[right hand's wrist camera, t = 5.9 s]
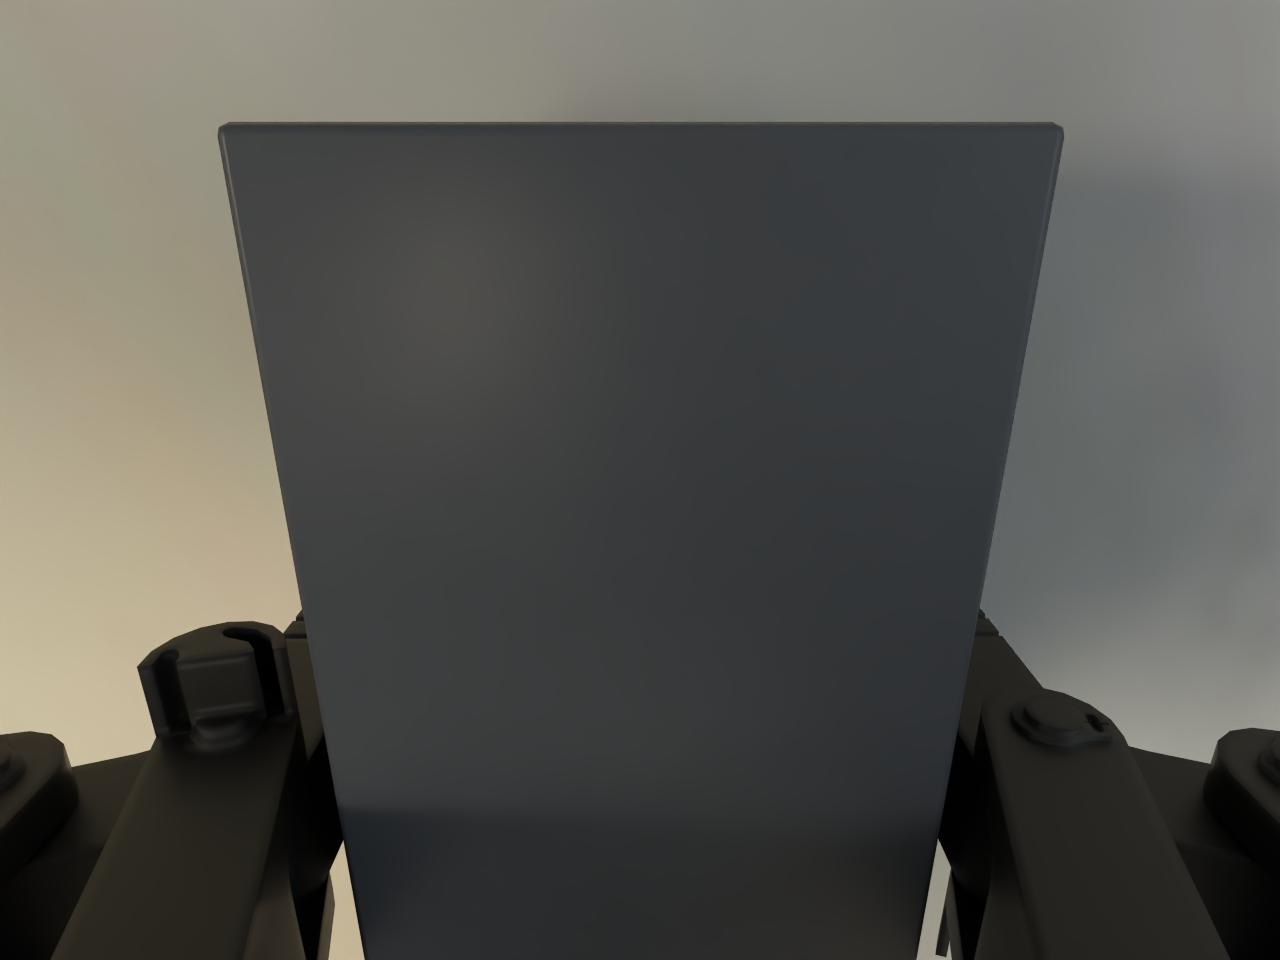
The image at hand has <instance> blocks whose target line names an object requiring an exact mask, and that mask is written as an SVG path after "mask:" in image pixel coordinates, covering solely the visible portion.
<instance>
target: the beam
mask: <svg viewBox="0 0 1280 960" xmlns="http://www.w3.org/2000/svg"><path fill="white" fill-rule="evenodd" d="M1063 140H1064V131H1063V127H1061V126H1059V125H1057V124H1055V123H1053V122H228V123H226V124H224V125H222V126H220V127H219V130H218V141H219V146H220V152H221V157H222V163H223V169H224V174H225V180H226V185H227V191H228V197H229V202H230V208H231V213H232V219H233V224H234V230H235V236H236V241H237V247H238V252H239V258H240V264H241V269H242V275H243V280H244V286H245V292H246V297H247V303H248V308H249V314H250V320H251V325H252V331H253V336H254V342H255V348H256V353H257V359H258V364H259V370H260V376H261V381H262V387H263V392H264V398H265V404H266V409H267V415H268V420H269V426H270V432H271V437H272V443H273V448H274V454H275V460H276V465H277V471H278V476H279V482H280V488H281V493H282V499H283V504H284V510H285V516H286V521H287V527H288V532H289V538H290V544H291V549H292V555H293V560H294V566H295V572H296V577H297V583H298V588H299V594H300V600H301V605H302V611H303V616H304V622H305V628H306V633H307V639H308V644H309V650H310V656H311V661H312V667H313V672H314V678H315V683H316V689H317V695H318V700H319V706H320V711H321V717H322V723H323V728H324V734H325V739H326V745H327V751H328V756H329V762H330V767H331V773H332V779H333V784H334V790H335V795H336V801H337V807H338V812H339V818H340V823H341V829H342V835H343V840H344V846H345V851H346V857H347V863H348V868H349V874H350V879H351V885H352V891H353V896H354V902H355V907H356V913H357V919H358V924H359V930H360V935H361V941H362V947H363V952H364V958H365V960H916V958H917V952H918V947H919V941H920V936H921V930H922V924H923V919H924V913H925V908H926V902H927V897H928V891H929V886H930V880H931V874H932V869H933V863H934V858H935V852H936V847H937V841H938V835H939V830H940V824H941V819H942V813H943V808H944V802H945V797H946V791H947V785H948V780H949V774H950V769H951V763H952V758H953V752H954V746H955V741H956V735H957V730H958V724H959V719H960V713H961V707H962V702H963V696H964V691H965V685H966V680H967V674H968V669H969V663H970V657H971V652H972V646H973V641H974V635H975V630H976V624H977V618H978V613H979V607H980V602H981V596H982V591H983V585H984V579H985V574H986V568H987V563H988V557H989V552H990V546H991V541H992V535H993V529H994V524H995V518H996V513H997V507H998V502H999V496H1000V490H1001V485H1002V479H1003V474H1004V468H1005V463H1006V457H1007V452H1008V446H1009V440H1010V435H1011V429H1012V424H1013V418H1014V413H1015V407H1016V401H1017V396H1018V390H1019V385H1020V379H1021V374H1022V368H1023V362H1024V357H1025V351H1026V346H1027V340H1028V335H1029V329H1030V324H1031V318H1032V312H1033V307H1034V301H1035V296H1036V290H1037V285H1038V279H1039V273H1040V268H1041V262H1042V257H1043V251H1044V246H1045V240H1046V234H1047V229H1048V223H1049V218H1050V212H1051V207H1052V201H1053V196H1054V190H1055V184H1056V179H1057V173H1058V168H1059V162H1060V157H1061V151H1062V145H1063Z"/></svg>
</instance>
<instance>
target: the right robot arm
mask: <svg viewBox="0 0 1280 960" xmlns="http://www.w3.org/2000/svg"><path fill="white" fill-rule="evenodd" d="M998 633H999V632H998V630H997V629H996V628H995V627H994V625H993V624H992V623H991V621H990V620H989V619H988V618H985V614H984V613H983V611H982V610H981V609H980V607H979V613H978V618H977V624H976V630H975V635H974V641H973V646H972V652H971V657H970V663H969V669H968V674H967V680H966V685H965V691H964V696H963V702H962V707H961V713H960V719H959V724H958V730H957V735H956V741H955V746H954V752H953V758H952V763H951V769H950V774H949V780H948V785H947V791H946V797H945V802H944V808H943V813H942V819H941V824H940V830H939V835H938V839H939V841H940V843H941V846H942V848H943V850H944V852H945V854H946V857H947V859H948V861H949V863H950V866H951V871H950V876H949V882H948V887H947V892H946V897H945V903H944V908H943V913H942V918H941V924H940V929H939V934H938V940H937V947H936V954H935V955H939V956H944V957H946V956H947V951H948V946H949V940H950V947H951V956H952V960H1280V731H1274V730H1266V729H1258V728H1247V729H1240V730H1233V731H1229V732H1228V733H1227V734H1226V735H1224V736H1223V737H1222V738H1221V739H1219V740H1218V742H1217V746H1216V749H1215V752H1214V755H1213V758H1212V761H1211V764H1208V763H1203V762H1198V761H1193V760H1188V759H1184V758H1179V757H1174V756H1169V755H1164V754H1159V753H1154V752H1149V751H1145V750H1141V749H1138V748H1134V747H1130V746H1128V744H1127V742H1126V740H1125V738H1124V736H1123V735H1122V733H1121V732H1120V731H1119V729H1118V728H1117V727H1116V726H1115V724H1114V723H1113V722H1112V720H1111V719H1109V718H1108V717H1107V716H1105V715H1104V714H1102V713H1101V712H1099V711H1098V710H1097V709H1095V708H1094V707H1092V706H1091V705H1090V704H1087V703H1085V702H1083V701H1081V700H1078V699H1076V698H1074V697H1071V696H1069V695H1067V694H1065V693H1061V692H1057V691H1052V690H1048V689H1044V688H1043V687H1042V686H1041V685H1040V684H1039V682H1038V681H1037V680H1036V679H1035V677H1034V676H1033V675H1032V673H1031V672H1030V671H1029V670H1028V668H1027V667H1026V666H1025V665H1024V663H1023V662H1022V661H1021V659H1020V658H1019V657H1018V656H1017V654H1016V653H1015V652H1014V651H1013V649H1012V648H1011V647H1010V646H1009V644H1008V643H1007V642H1006V640H1005V639H1004V638H1003V637H1002V636H999V634H998ZM137 668H138V672H139V676H140V679H141V683H142V687H143V690H144V694H145V698H146V701H147V705H148V709H149V712H150V716H151V719H152V723H153V727H154V730H155V734H156V739H155V741H154V743H153V745H152V747H151V750H149V751H145V752H141V753H137V754H134V755H129V756H124V757H119V758H114V759H109V760H104V761H99V762H95V763H90V764H85V765H80V766H75V767H71V765H70V762H69V759H68V756H67V753H66V750H65V746H64V744H63V743H62V742H61V741H59V740H58V739H57V738H56V737H54V736H53V735H52V734H45V733H38V732H31V731H28V732H20V733H12V734H4V735H0V960H328V958H329V949H330V941H331V933H332V924H333V916H334V908H335V901H334V894H333V887H332V882H331V876H330V869H331V866H332V864H333V862H334V860H335V858H336V855H337V853H338V851H339V849H340V846H341V844H342V842H343V835H342V829H341V823H340V818H339V812H338V807H337V801H336V795H335V790H334V784H333V779H332V773H331V767H330V762H329V756H328V751H327V745H326V739H325V734H324V728H323V723H322V717H321V711H320V706H319V700H318V695H317V689H316V683H315V678H314V672H313V667H312V661H311V656H310V650H309V644H308V639H307V633H306V628H305V622H304V616H303V611H302V610H301V611H300V613H299V614H298V615H297V617H296V621H293V622H292V623H291V624H290V625H289V627H288V628H287V629H286V631H285V632H284V633H282V632H280V631H279V630H278V629H277V628H275V627H274V626H272V625H268V624H263V623H259V622H254V621H246V622H226V623H221V624H216V625H211V626H207V627H202V628H199V629H196V630H193V631H191V632H188V633H185V634H183V635H180V636H177V637H175V638H173V639H171V640H169V641H168V642H166V643H164V644H163V645H161V646H160V647H158V648H156V649H155V650H153V651H151V652H150V653H149V654H148V656H147V657H146V658H145V659H144V660H143V661H142V662H141V663H140V664H139V665H138V666H137Z"/></svg>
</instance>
